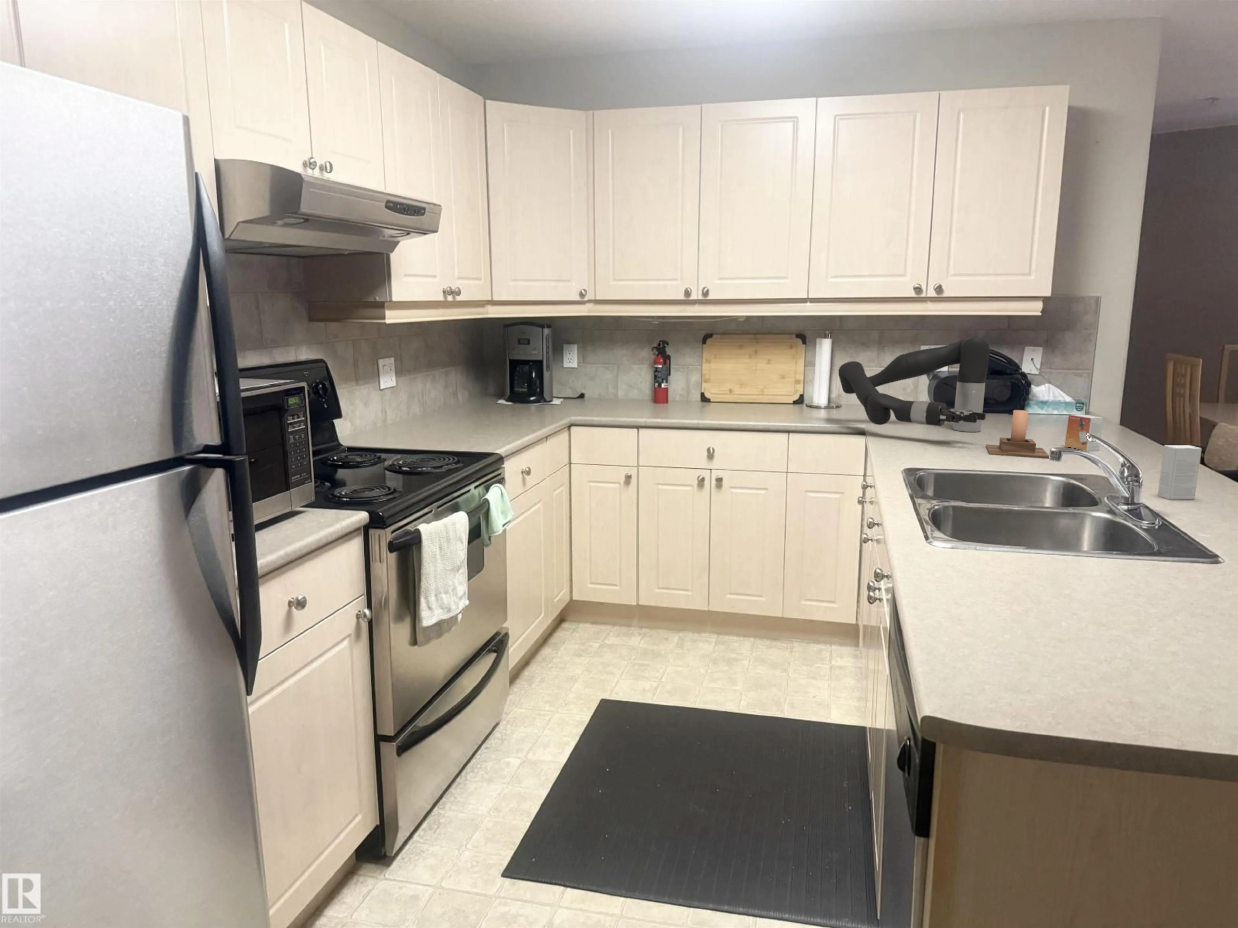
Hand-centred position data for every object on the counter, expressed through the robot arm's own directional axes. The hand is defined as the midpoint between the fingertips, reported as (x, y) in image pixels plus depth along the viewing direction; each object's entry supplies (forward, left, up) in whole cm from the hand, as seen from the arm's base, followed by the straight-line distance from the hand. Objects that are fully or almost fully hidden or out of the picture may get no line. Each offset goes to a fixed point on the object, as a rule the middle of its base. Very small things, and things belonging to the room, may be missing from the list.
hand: (981, 418), depth 248 cm
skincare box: (+57, +38, -10) cm, 69 cm away
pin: (+4, +10, -9) cm, 14 cm away
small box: (-12, +30, -10) cm, 34 cm away
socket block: (+4, +10, -9) cm, 15 cm away
